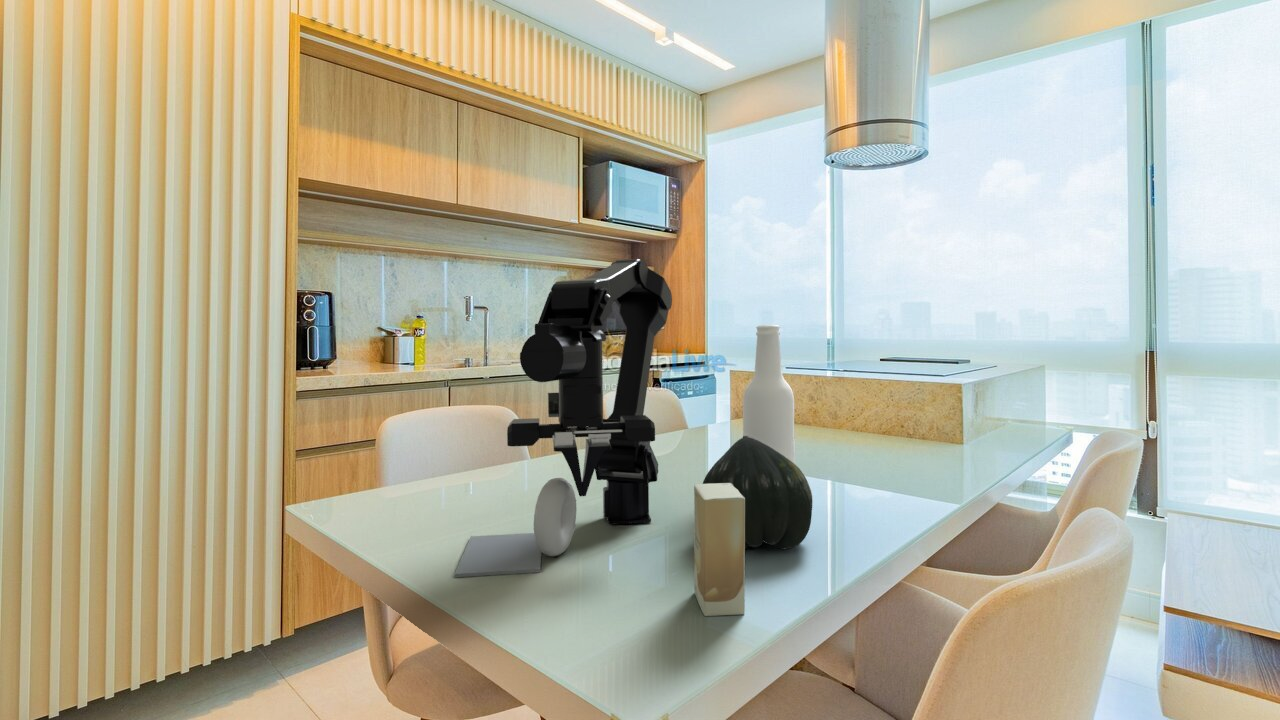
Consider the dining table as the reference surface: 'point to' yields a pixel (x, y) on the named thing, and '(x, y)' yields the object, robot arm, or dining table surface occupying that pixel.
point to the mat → (500, 555)
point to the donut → (555, 516)
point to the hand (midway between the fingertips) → (582, 495)
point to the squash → (766, 493)
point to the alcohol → (769, 397)
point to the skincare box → (719, 549)
